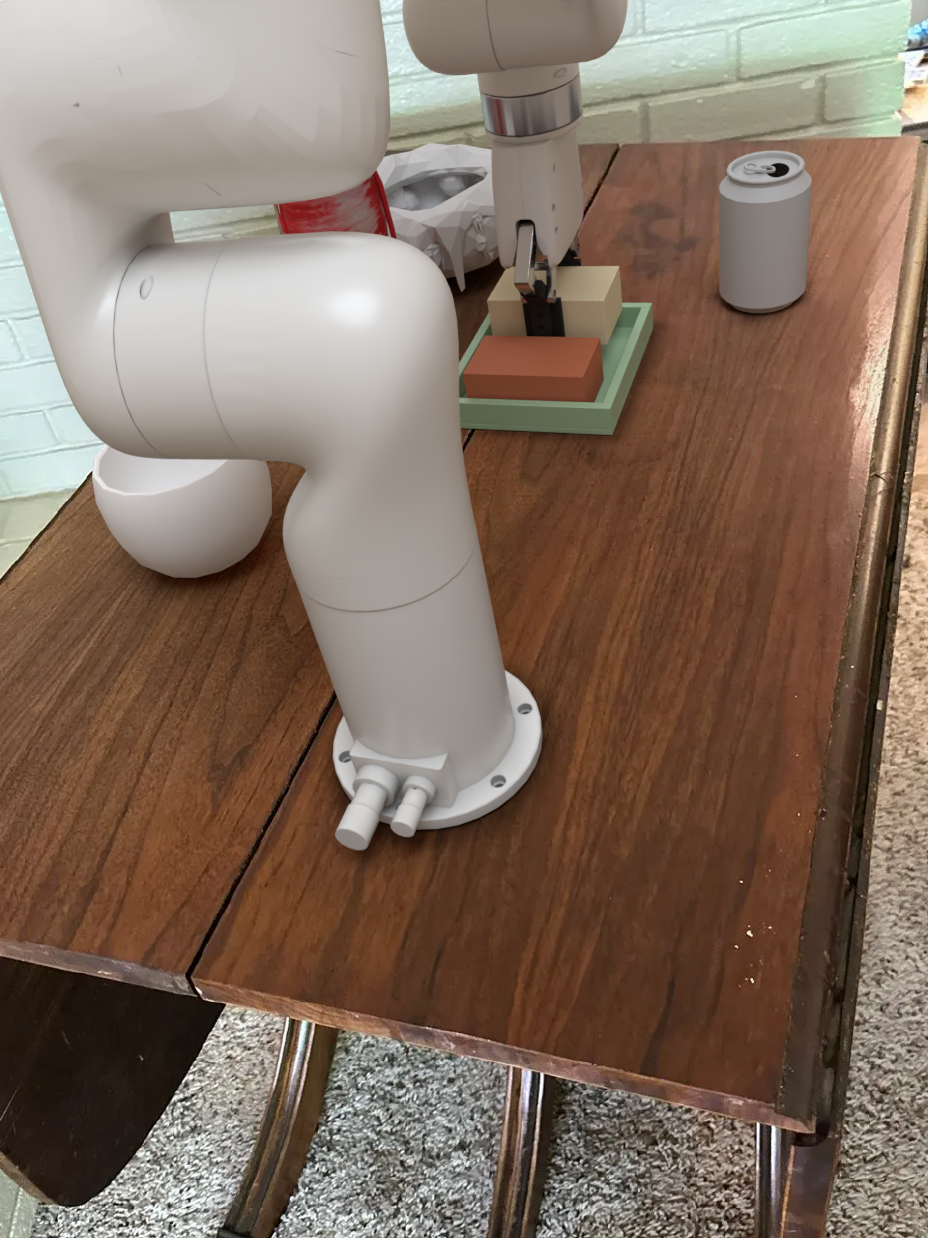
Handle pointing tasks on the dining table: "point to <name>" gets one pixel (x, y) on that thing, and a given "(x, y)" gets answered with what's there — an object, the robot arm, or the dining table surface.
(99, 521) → the dining table surface
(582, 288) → the pad beige
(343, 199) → the water bottle
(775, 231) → the can
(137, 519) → the cup
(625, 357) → the frame
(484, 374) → the pad terracotta
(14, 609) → the dining table surface
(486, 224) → the bowl
